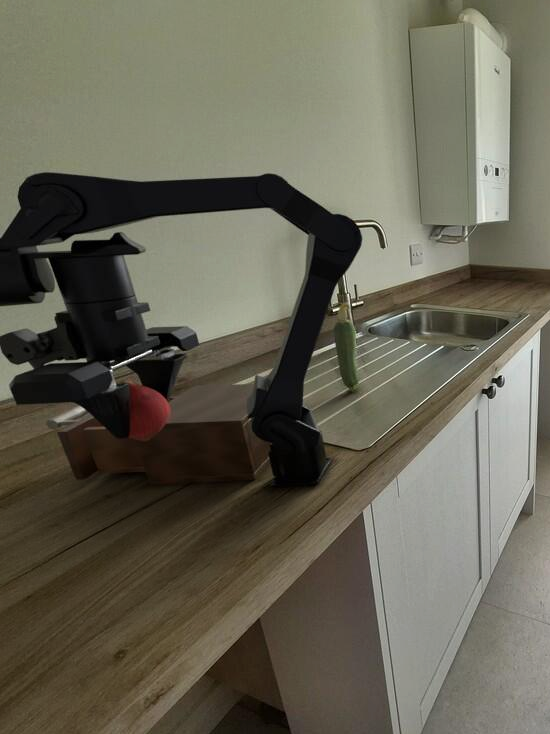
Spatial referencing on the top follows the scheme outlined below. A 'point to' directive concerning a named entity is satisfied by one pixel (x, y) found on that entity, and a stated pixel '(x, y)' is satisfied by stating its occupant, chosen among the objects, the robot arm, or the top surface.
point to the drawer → (94, 445)
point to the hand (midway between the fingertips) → (143, 425)
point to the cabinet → (206, 439)
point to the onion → (146, 411)
